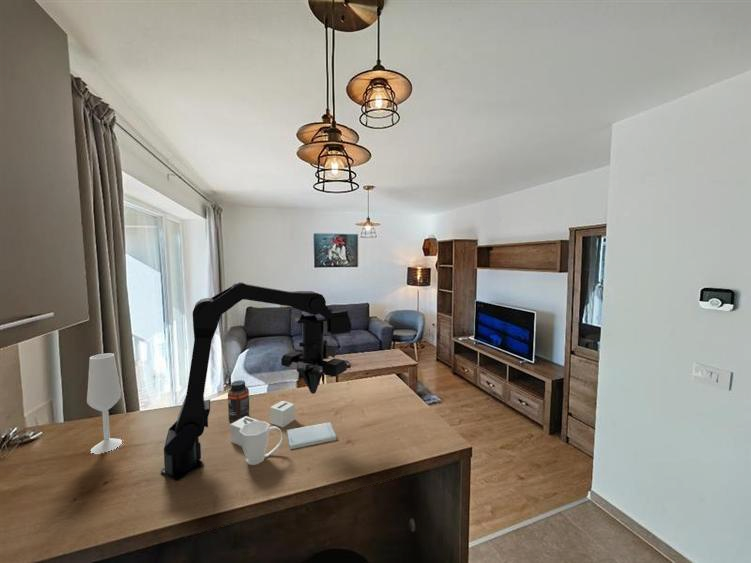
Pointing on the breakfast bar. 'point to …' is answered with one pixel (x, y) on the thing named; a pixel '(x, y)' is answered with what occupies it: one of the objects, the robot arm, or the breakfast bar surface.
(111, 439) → the champagne flute
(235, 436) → the block seven
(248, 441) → the cup
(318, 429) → the hard drive
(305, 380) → the robot arm
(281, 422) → the block one
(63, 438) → the breakfast bar surface
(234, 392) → the supplement bottle
